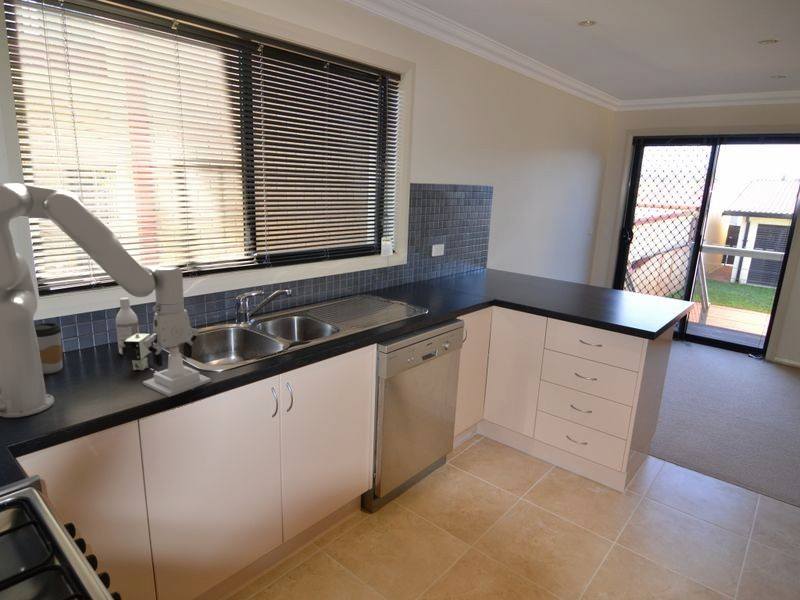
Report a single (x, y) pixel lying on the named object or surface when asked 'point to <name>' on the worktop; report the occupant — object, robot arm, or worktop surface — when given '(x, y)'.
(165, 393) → the flange
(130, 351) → the pneumatic valve
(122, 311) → the bath foam
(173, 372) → the salt shaker
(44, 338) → the coffee cup
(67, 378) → the worktop surface
